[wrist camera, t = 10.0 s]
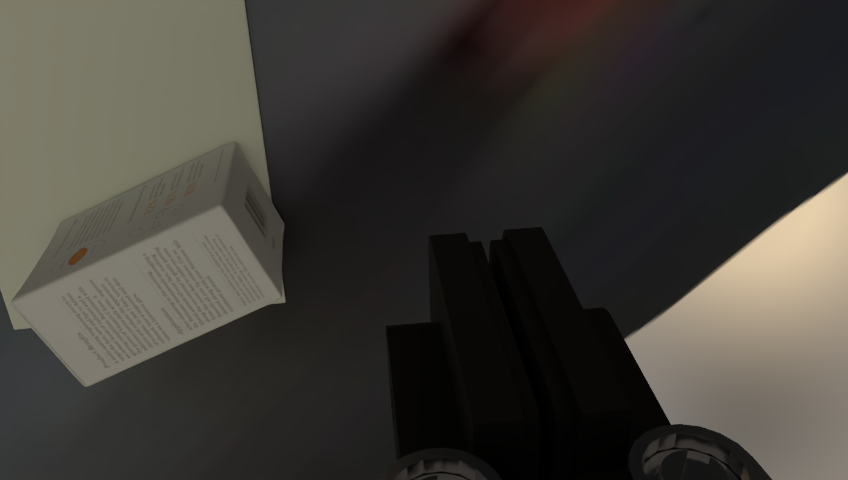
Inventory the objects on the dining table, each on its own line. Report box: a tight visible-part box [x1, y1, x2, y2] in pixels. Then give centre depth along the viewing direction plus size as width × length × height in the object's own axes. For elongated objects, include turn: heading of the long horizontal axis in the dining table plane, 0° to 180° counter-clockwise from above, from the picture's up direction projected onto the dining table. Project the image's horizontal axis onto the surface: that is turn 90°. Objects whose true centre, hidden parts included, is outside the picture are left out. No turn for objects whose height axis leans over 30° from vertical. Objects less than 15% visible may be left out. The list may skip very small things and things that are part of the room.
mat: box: [0, 0, 285, 330], centre depth 39 cm, size 15×18×1 cm
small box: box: [11, 142, 284, 387], centre depth 37 cm, size 8×6×10 cm
